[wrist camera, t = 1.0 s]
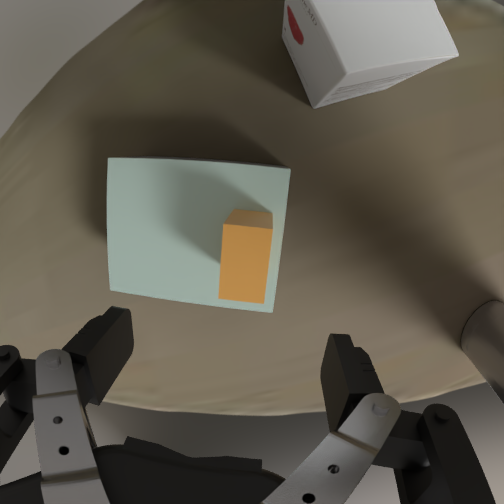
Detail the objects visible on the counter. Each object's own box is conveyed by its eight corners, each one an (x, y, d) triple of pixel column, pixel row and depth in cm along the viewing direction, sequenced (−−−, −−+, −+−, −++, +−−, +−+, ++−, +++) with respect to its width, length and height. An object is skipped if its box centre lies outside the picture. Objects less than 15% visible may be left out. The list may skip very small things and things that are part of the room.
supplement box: (278, 35, 27) (282, -42, 12) (355, 18, 25) (403, -53, 11) (311, 111, 29) (343, 76, 15) (388, 91, 28) (463, 55, 13)
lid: (289, 168, 25) (296, 173, 18) (272, 301, 29) (272, 349, 22) (119, 157, 26) (71, 160, 18) (120, 281, 29) (81, 317, 22)
